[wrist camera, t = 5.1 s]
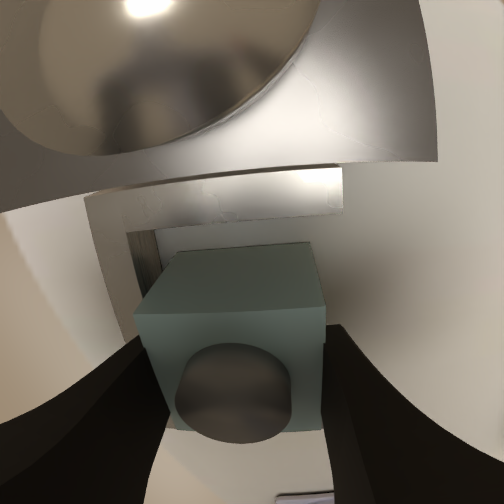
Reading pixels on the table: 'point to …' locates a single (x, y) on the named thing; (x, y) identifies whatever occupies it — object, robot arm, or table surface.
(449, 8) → the table surface
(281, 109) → the motor mount
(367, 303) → the table surface
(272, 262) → the pale blue block
